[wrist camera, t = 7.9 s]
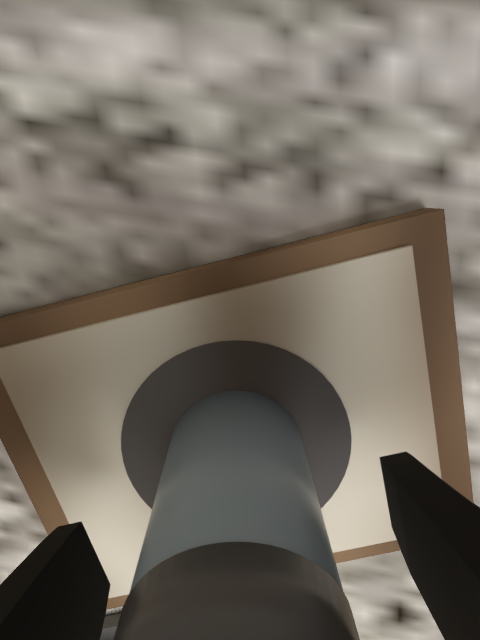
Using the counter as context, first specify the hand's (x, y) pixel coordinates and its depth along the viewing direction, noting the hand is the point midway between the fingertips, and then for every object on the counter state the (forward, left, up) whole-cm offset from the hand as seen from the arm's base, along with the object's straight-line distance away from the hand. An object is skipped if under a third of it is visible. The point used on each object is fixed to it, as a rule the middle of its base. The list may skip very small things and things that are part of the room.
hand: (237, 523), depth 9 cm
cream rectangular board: (0, 0, -4) cm, 4 cm away
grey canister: (0, 0, -3) cm, 3 cm away
